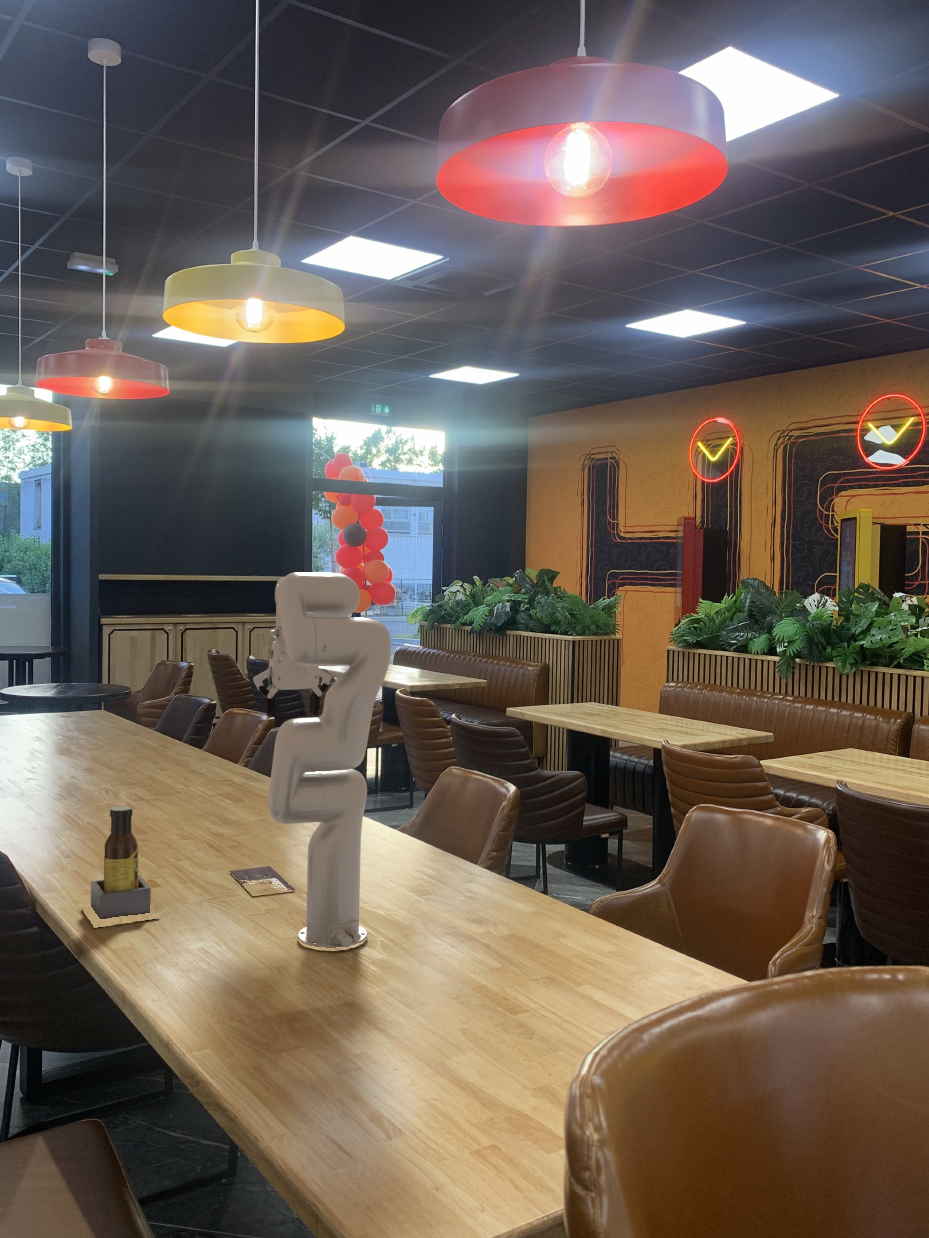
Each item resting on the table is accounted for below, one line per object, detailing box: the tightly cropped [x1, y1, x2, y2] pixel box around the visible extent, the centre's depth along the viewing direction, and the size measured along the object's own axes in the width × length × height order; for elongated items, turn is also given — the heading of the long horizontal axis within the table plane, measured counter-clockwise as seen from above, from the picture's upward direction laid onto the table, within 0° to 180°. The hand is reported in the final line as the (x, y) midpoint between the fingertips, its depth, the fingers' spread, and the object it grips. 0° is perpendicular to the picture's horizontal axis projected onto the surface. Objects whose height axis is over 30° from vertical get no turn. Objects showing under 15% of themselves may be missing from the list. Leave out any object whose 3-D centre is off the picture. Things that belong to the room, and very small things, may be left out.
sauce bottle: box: [103, 805, 139, 893], centre depth 193 cm, size 6×6×20 cm
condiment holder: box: [90, 874, 152, 919], centre depth 193 cm, size 12×12×6 cm
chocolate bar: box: [229, 865, 296, 891], centre depth 215 cm, size 9×1×18 cm
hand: (292, 715), depth 213 cm, fingers open, 9 cm apart
